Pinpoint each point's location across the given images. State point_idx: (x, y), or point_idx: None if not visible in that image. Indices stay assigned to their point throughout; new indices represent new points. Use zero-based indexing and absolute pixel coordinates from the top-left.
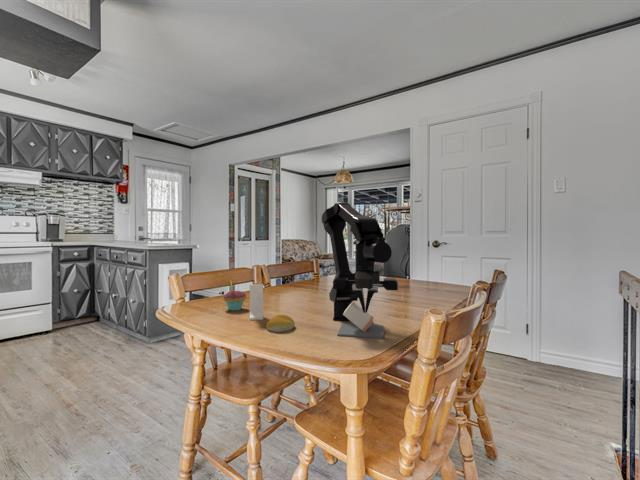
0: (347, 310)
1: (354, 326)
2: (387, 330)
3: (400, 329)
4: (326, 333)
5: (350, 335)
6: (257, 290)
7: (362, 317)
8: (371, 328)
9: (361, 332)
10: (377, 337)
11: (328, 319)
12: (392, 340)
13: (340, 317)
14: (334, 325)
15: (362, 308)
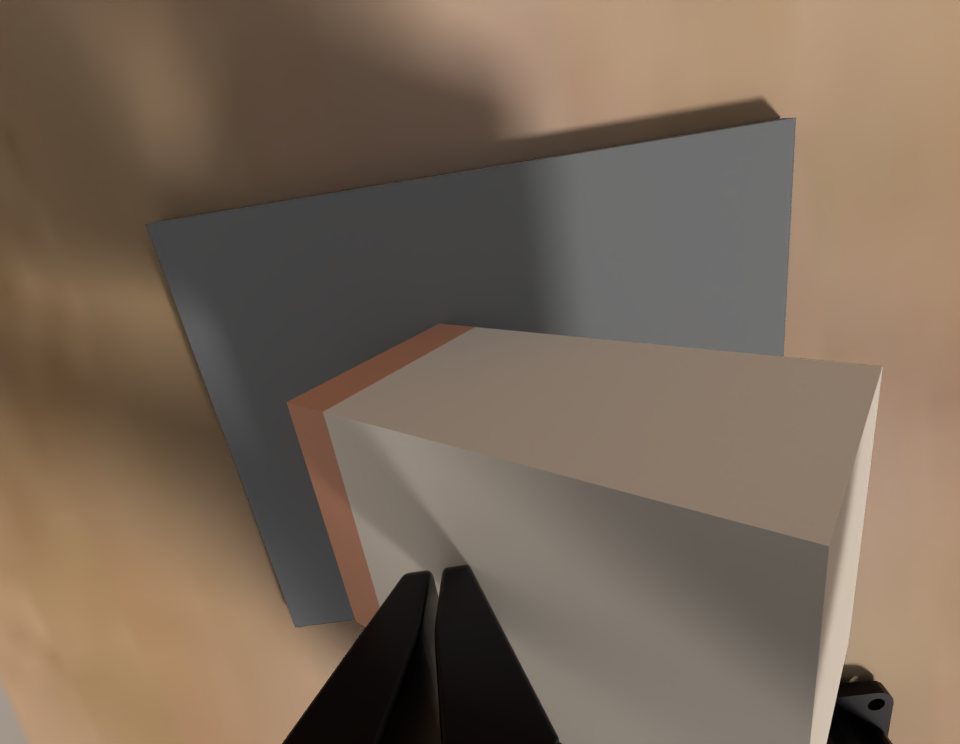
0: (834, 427)
1: None
2: (226, 532)
3: (111, 602)
4: (946, 180)
5: (599, 151)
6: None
7: (460, 407)
8: None
9: (474, 306)
10: (233, 210)
11: (930, 693)
12: (22, 173)
13: None
14: None
15: (489, 612)
